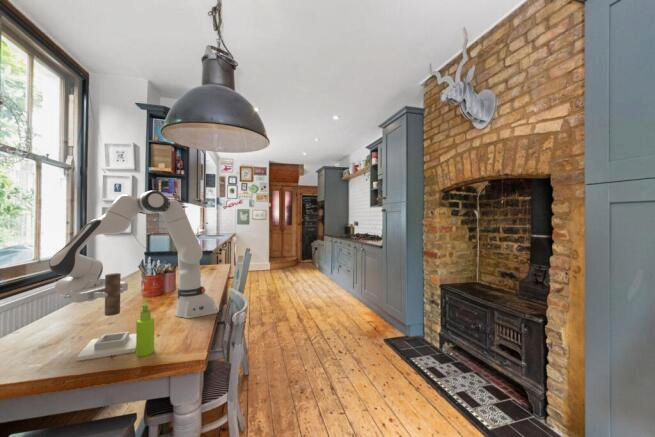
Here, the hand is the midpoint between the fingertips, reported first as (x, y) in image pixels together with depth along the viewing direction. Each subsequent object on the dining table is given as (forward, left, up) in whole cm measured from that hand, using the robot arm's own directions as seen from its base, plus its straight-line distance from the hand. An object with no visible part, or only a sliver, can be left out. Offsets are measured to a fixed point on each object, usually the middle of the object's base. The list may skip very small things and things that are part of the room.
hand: (114, 293), depth 115 cm
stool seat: (+1, -1, -22) cm, 22 cm away
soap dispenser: (-12, +10, -22) cm, 28 cm away
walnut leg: (+1, -1, -8) cm, 9 cm away
